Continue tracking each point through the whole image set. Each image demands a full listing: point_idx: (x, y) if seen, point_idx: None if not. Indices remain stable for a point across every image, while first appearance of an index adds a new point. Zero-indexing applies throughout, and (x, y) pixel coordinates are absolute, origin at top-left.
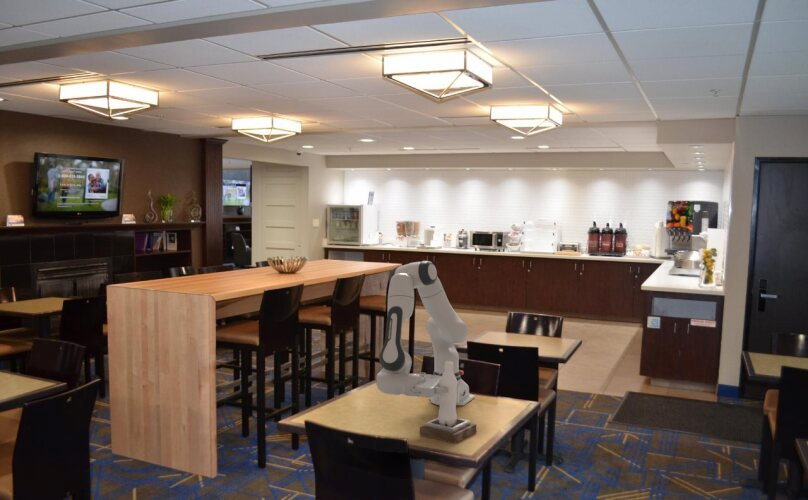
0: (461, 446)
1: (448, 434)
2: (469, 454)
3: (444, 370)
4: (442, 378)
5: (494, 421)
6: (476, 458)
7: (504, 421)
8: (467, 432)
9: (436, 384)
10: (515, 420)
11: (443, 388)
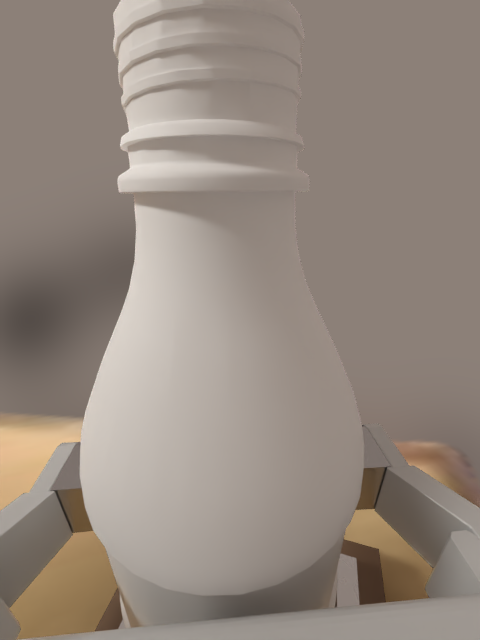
0: (384, 524)
1: (384, 600)
2: (431, 472)
3: (259, 254)
4: (338, 402)
5: (25, 475)
6: (440, 445)
7: (36, 443)
8: None
9: (422, 604)
10: (33, 417)
11: (403, 462)
